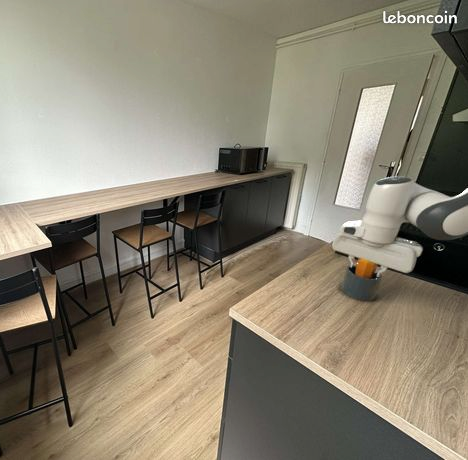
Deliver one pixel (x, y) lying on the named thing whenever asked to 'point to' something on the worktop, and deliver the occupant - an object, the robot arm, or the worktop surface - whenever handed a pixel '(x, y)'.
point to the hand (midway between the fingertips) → (364, 271)
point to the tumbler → (360, 285)
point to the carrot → (365, 268)
